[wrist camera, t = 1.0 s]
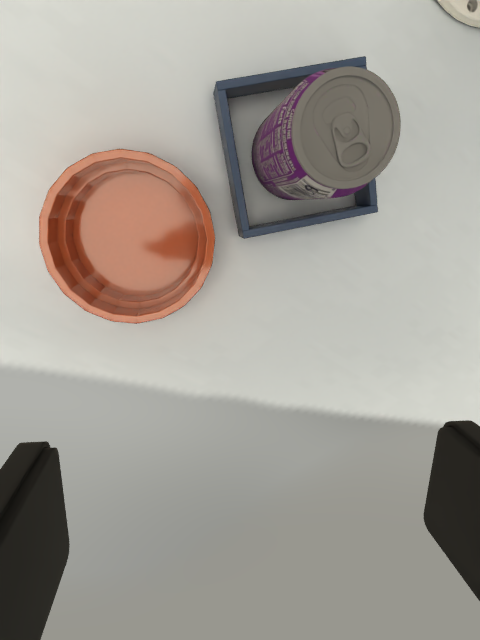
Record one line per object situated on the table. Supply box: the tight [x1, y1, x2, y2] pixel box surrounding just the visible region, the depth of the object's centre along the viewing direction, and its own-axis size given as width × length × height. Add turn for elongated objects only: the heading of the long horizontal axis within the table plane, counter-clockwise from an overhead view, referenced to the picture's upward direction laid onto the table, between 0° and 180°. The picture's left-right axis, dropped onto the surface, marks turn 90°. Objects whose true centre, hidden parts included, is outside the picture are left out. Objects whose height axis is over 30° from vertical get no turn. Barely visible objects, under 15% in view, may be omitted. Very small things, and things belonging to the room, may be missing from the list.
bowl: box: [39, 149, 215, 323], centre depth 31 cm, size 12×12×5 cm
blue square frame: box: [213, 56, 378, 238], centre depth 32 cm, size 11×11×3 cm
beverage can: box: [252, 67, 401, 200], centre depth 28 cm, size 7×7×12 cm
